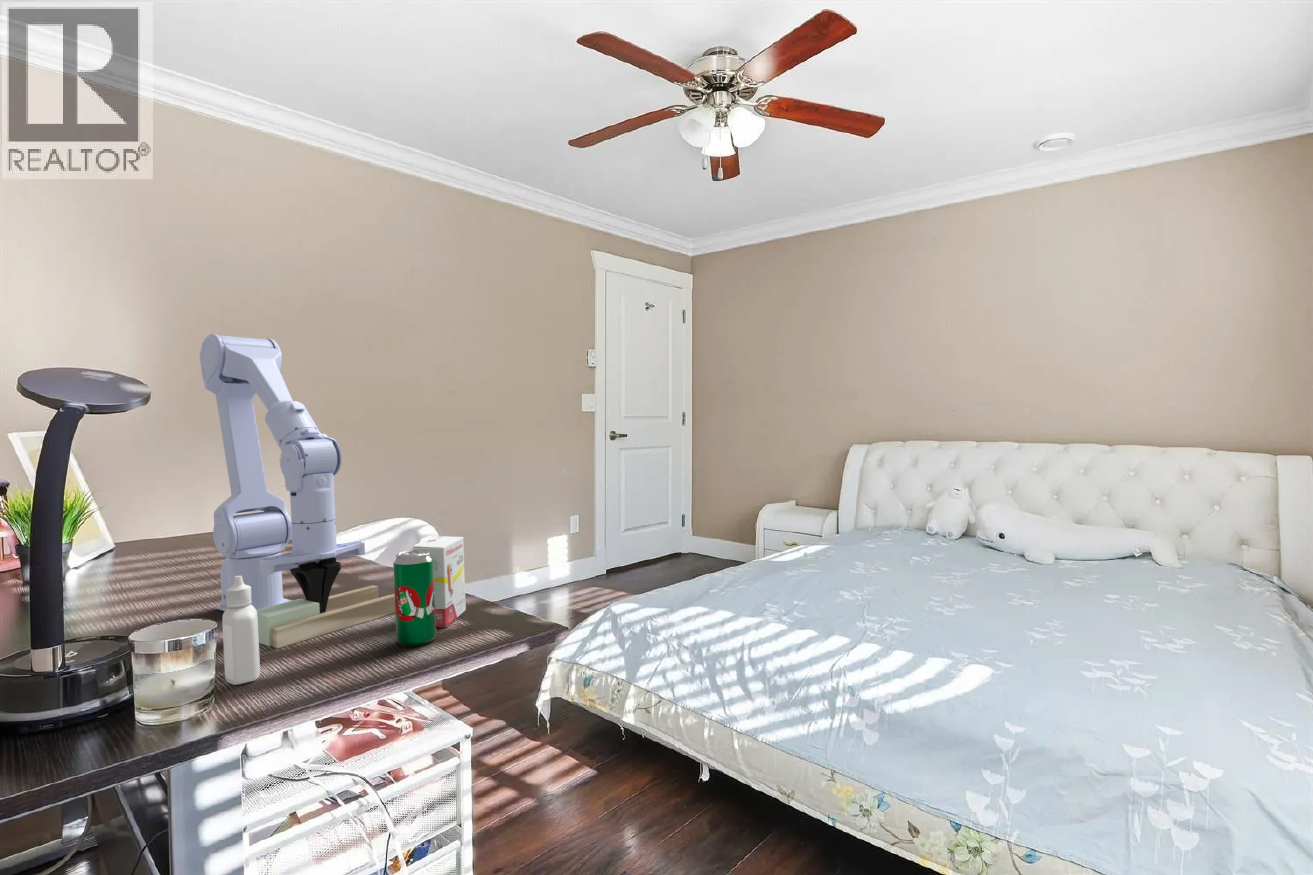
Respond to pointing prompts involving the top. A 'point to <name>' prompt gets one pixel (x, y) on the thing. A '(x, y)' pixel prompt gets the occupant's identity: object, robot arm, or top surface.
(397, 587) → the soda can
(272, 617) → the sage block
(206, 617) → the top surface
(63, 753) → the top surface
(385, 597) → the chute
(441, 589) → the ink box
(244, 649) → the eye dropper bottle
